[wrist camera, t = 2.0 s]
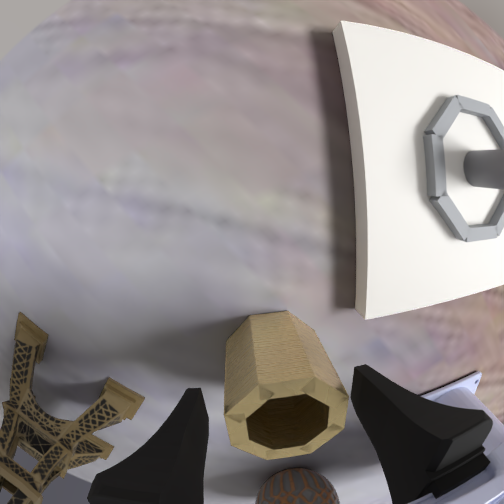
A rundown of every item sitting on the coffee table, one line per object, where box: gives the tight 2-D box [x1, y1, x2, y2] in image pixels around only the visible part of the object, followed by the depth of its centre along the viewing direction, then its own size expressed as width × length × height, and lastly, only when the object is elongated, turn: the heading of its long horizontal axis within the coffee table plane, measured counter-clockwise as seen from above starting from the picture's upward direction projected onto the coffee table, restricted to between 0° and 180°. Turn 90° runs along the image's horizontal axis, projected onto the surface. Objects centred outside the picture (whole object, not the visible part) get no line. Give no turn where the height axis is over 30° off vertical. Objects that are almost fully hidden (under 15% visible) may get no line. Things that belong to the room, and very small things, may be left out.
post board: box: [332, 21, 504, 320], centre depth 11 cm, size 16×16×6 cm
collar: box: [224, 311, 349, 460], centre depth 13 cm, size 5×5×6 cm
